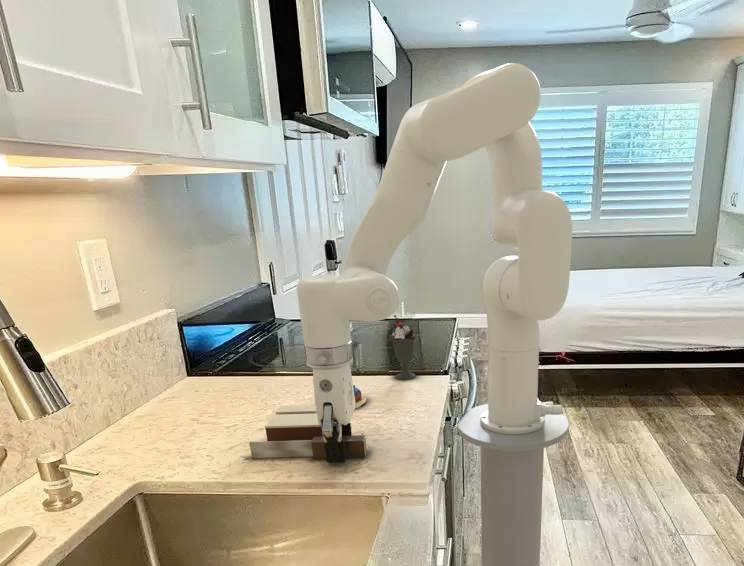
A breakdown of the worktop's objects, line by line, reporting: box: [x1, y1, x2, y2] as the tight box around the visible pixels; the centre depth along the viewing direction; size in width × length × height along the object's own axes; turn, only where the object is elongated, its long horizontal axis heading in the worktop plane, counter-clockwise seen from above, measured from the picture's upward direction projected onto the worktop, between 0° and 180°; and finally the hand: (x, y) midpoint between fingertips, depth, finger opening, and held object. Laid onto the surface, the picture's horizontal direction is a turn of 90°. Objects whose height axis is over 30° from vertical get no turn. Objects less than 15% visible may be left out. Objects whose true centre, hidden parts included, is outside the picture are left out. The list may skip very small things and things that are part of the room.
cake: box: [264, 413, 324, 441], centre depth 104 cm, size 10×6×5 cm, turn 90°
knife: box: [248, 434, 368, 460], centre depth 99 cm, size 20×2×3 cm, turn 90°
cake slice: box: [275, 403, 334, 423], centre depth 109 cm, size 10×4×5 cm, turn 90°
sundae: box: [388, 314, 418, 381], centre depth 136 cm, size 7×7×15 cm
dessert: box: [353, 384, 367, 409], centre depth 123 cm, size 8×7×6 cm
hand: (340, 451), depth 99 cm, fingers open, 6 cm apart
